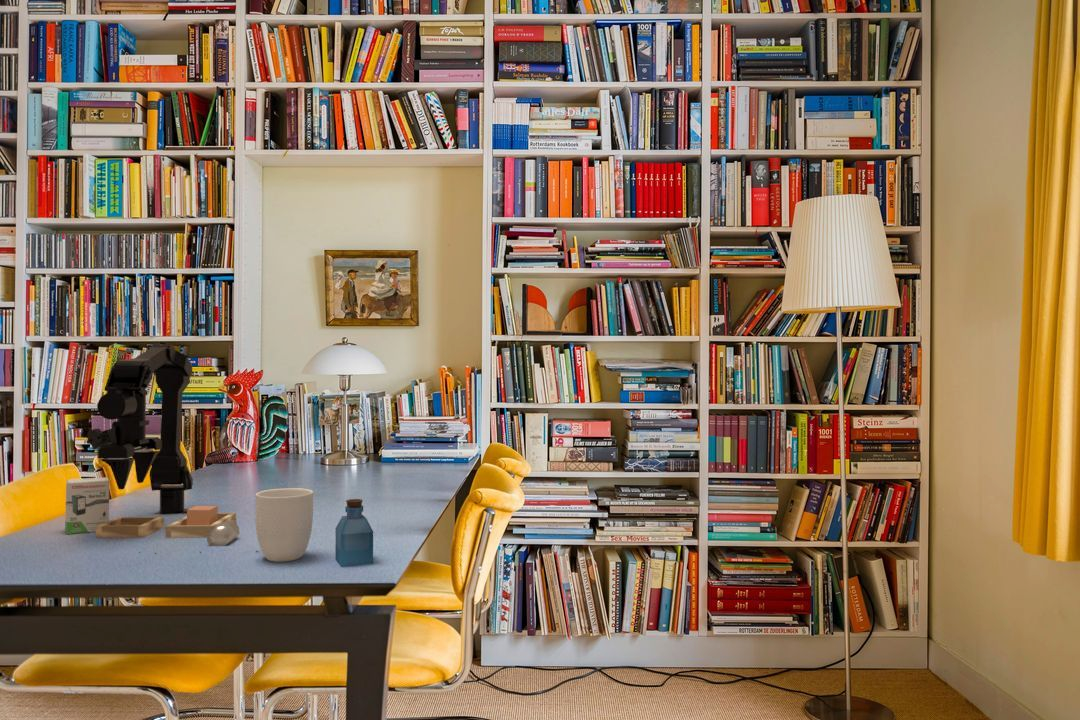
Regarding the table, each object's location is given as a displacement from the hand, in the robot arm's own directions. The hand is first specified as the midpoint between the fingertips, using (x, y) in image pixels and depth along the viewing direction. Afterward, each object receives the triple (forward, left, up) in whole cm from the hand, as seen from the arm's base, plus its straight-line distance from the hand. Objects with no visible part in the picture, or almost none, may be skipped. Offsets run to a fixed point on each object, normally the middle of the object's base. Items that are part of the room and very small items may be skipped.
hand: (131, 485), depth 177 cm
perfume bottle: (+25, +54, -11) cm, 61 cm away
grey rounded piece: (+10, +23, -11) cm, 27 cm away
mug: (+21, +39, -11) cm, 46 cm away
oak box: (0, 0, -11) cm, 11 cm away
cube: (-2, +15, -10) cm, 18 cm away
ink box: (-5, -12, -11) cm, 17 cm away
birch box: (-2, +15, -11) cm, 19 cm away
